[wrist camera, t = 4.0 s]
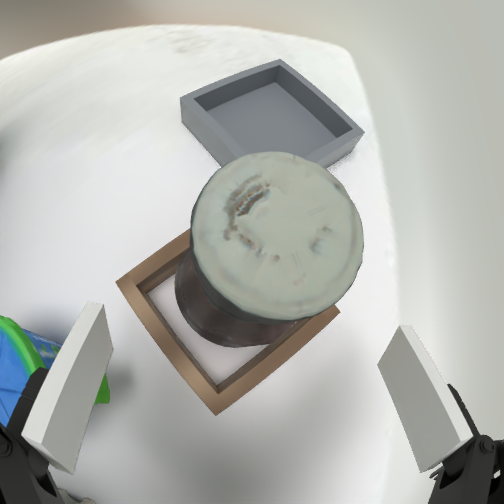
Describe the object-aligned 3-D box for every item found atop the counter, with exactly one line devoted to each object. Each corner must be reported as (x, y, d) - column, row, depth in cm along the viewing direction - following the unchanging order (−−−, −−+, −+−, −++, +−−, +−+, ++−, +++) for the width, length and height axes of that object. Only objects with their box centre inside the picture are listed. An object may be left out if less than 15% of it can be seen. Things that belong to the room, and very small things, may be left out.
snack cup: (124, 329, 23) (74, 321, 14) (132, 441, 20) (94, 489, 11) (-2, 317, 21) (-67, 301, 11) (4, 412, 18) (-57, 427, 8)
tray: (181, 122, 30) (180, 97, 26) (274, 81, 34) (280, 58, 30) (260, 212, 28) (268, 192, 24) (350, 152, 32) (364, 132, 28)
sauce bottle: (179, 282, 25) (107, 132, 6) (246, 259, 27) (323, 88, 8) (205, 353, 24) (184, 408, 5) (273, 328, 25) (433, 291, 6)
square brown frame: (128, 290, 24) (115, 282, 20) (238, 212, 28) (242, 193, 24) (215, 404, 22) (215, 415, 19) (322, 316, 26) (340, 312, 22)
